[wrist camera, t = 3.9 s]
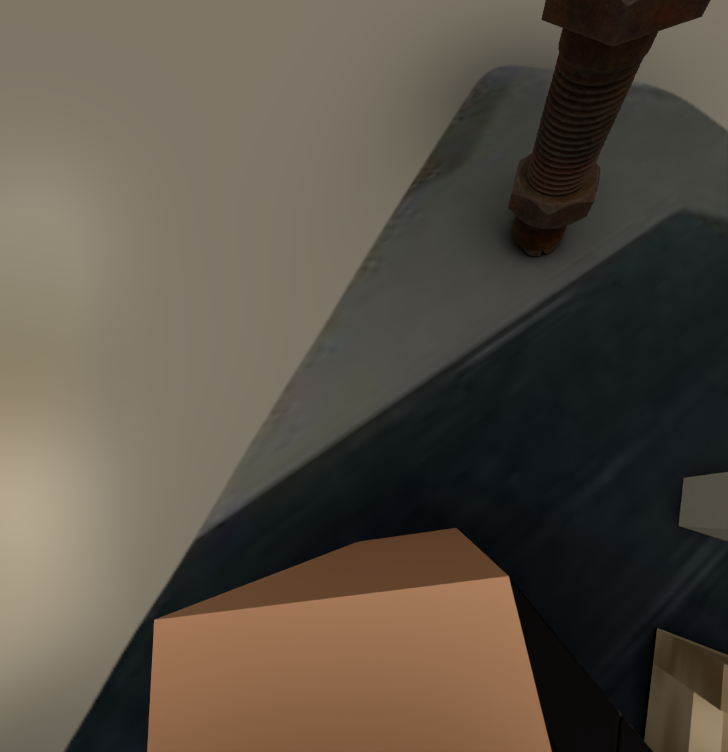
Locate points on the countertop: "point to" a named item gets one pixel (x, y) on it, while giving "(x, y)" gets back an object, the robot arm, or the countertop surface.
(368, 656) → the orange rectangular block
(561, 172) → the bolt
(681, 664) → the cradle
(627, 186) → the countertop surface
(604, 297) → the countertop surface
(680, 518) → the stop block
